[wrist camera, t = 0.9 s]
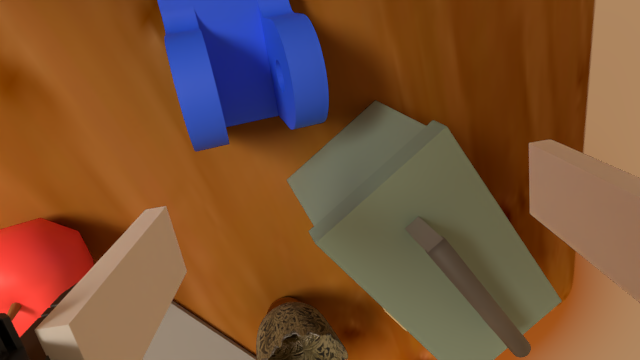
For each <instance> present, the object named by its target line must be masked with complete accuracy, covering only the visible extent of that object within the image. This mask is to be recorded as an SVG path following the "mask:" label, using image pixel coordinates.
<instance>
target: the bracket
mask: <svg viewBox="0 0 640 360" xmlns="http://www.w3.org/2000/svg"><path fill="white" fill-rule="evenodd" d="M157 1H158V4H159V8H160V12H161V15H162V19H163V23H164V27H165V32H166V35H165V46H166V51H167V55H168V60H169V64H170V68H171V72H172V76H173V80H174V84H175V88H176V92H177V95H178V99H179V103H180V106H181V110H182V113H183V117H184V120H185V123H186V127H187V130H188V133H189V136H190V139H191V142H192V145H193V147H194V150H195V151H200V150H205V149H209V148H214V147H218V146H222V145H227V144H229V139H228V134H227V130H226V127H229V126H234V125H238V124H243V123H247V122H252V121H257V120H261V119H266V118H270V117H275V116H280V118H281V119H282V120H283V121H284V122H285V123H286V125H287V126H288V127H289V128H290V129H291V130H293V129H297V128H302V127H306V126H311V125H315V124H319V123H323V122H325V120H326V118H327V115H328V108H329V92H328V81H327V74H326V68H325V62H324V58H323V54H322V50H321V46H320V43H319V40H318V37H317V34H316V31H315V29H314V27H313V25H312V23H311V21H310V19H309V18H308V17H307V16H306V15H305V14H301V13H294V12H293V11H292V9H291V6H290V3H289V0H157Z"/></svg>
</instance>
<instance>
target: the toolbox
mask: <svg viewBox="0 0 640 360" xmlns="http://www.w3.org/2000/svg"><path fill="white" fill-rule="evenodd" d="M287 181H288V183H289V185H290V186H291V188H292V190H293V191H294V193H295V195H296V197H297V198H298V200H299V202H300V203H301V205H302V207H303V208H304V210H305V212H306V213H307V215H308V217H309V218H310V220H311V222H312V224H313V225H314V227H313V228H311V229H310V230H309V233H310V235H311V237H312V238H313V240H314V242H315V244H316V245H317V246H318V247H320V248H321V249H322V250H323V251H324V252H325V253H326V254H327V255H328V256H329V257H330V258H331V259H332V260H333V261H334V262H335V263H336V264H337V265H339V266H340V267H341V268H342V269H343V270H344V271H345V272H346V273H347V274H348V275H349V276H350V277H351V278H352V279H353V280H354V281H355V282H356V283H358V284H359V285H360V286H361V287H362V288H363V289H364V290H365V291H366V292H367V293H368V294H369V295H370V296H371V297H372V298H373V299H374V300H376V301H377V302H378V303H379V304H380V305H381V306H382V307H383V309H384V310H385V312H386V313H387V314H388V315H389V316H391V317H392V318H393V319H394V320H395V321H396V322H397V323H398V324H399V325H400V326H401V327H402V328H403V329H404V330H405V331H408V332H409V333H410V334H411V335H412V336H414V337H415V338H416V339H417V340H418V341H419V342H420V343H421V344H422V345H423V346H424V347H425V348H426V349H427V350H428V351H429V352H430V353H431V354H433V355H434V356H435V357H436V358H437V359H438V360H494V359H495V358H496V357H497V356H499V355H500V354H501V353H502V352H503V351H504V350H505V349H507V348H509V349H510V351H511V352H512V353H513V354H514V355H515V356H517V357H525V356H527V355H528V354H529V352H530V350H531V347H530V344H529V342H528V341H527V340H526V339H525V337H524V336H523V334H524V333H525V332H526V331H528V330H529V329H530V328H531V327H532V326H533V325H534V324H536V323H537V322H538V321H539V320H540V319H542V318H543V317H544V316H545V315H546V314H547V313H549V312H550V311H551V310H552V309H553V308H554V307H556V306H557V305H558V304H559V303H560V302H561V299H560V298H559V296H558V295H557V293H556V292H555V290H554V288H553V287H552V285H551V284H550V282H549V281H548V279H547V278H546V276H545V275H544V273H543V272H542V270H541V269H540V267H539V266H538V264H537V263H536V261H535V260H534V258H533V257H532V255H531V254H530V252H529V251H528V249H527V247H526V246H525V244H524V243H523V241H522V240H521V238H520V237H519V235H518V234H517V232H516V231H515V229H514V228H513V226H512V225H511V223H510V222H509V220H508V219H507V217H506V216H505V214H504V213H503V211H502V209H501V208H500V206H499V205H498V203H497V202H496V200H495V199H494V197H493V196H492V194H491V193H490V191H489V190H488V188H487V187H486V185H485V184H484V182H483V181H482V179H481V178H480V176H479V175H478V173H477V171H476V170H475V168H474V167H473V165H472V164H471V162H470V161H469V159H468V158H467V156H466V155H465V153H464V152H463V150H462V149H461V147H460V146H459V144H458V143H457V141H456V140H455V138H454V137H453V135H452V133H451V132H450V130H449V129H448V127H447V126H445V125H443V124H441V123H439V122H436V121H434V120H432V121H431V122H430V123H429V124H428V125H427V126H426V125H424V124H422V123H420V122H418V121H416V120H414V119H412V118H410V117H408V116H406V115H404V114H402V113H400V112H398V111H396V110H394V109H392V108H390V107H388V106H386V105H384V104H382V103H380V102H378V101H376V100H375V101H374V102H373V103H372V104H371V105H369V106H368V107H367V108H366V109H365V110H364V111H363V112H362V113H361V114H359V115H358V116H357V117H356V118H355V119H354V120H353V121H352V122H351V123H349V124H348V125H347V126H346V127H345V128H344V129H343V130H342V131H341V132H340V133H338V134H337V135H336V136H335V137H334V138H333V139H332V140H331V141H330V142H328V143H327V144H326V145H325V146H324V147H323V148H322V149H321V150H320V151H318V152H317V153H316V154H315V155H314V156H313V157H312V158H311V159H310V160H308V161H307V162H306V163H305V164H304V165H303V166H302V167H301V168H300V169H298V170H297V171H296V172H295V173H294V174H293V175H292V176H291V177H290V178H288V179H287Z"/></svg>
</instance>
